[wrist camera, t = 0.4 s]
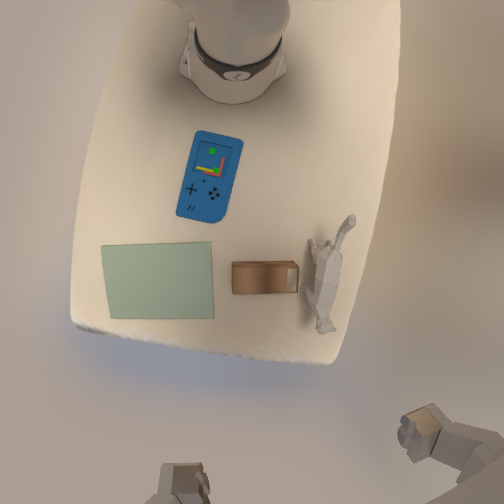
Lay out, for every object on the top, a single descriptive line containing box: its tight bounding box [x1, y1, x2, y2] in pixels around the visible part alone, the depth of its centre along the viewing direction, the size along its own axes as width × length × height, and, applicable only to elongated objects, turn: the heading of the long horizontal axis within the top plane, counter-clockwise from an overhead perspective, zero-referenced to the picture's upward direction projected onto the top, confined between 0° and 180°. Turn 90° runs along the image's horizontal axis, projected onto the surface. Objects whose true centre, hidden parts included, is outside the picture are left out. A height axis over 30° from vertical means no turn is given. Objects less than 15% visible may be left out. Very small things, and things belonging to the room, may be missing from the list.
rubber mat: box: [101, 242, 214, 319], centre depth 52 cm, size 14×20×1 cm
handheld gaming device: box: [176, 131, 243, 223], centre depth 50 cm, size 8×1×15 cm
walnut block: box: [232, 261, 299, 294], centre depth 52 cm, size 11×4×5 cm, turn 89°
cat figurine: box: [300, 214, 356, 335], centre depth 48 cm, size 4×20×14 cm, turn 174°
